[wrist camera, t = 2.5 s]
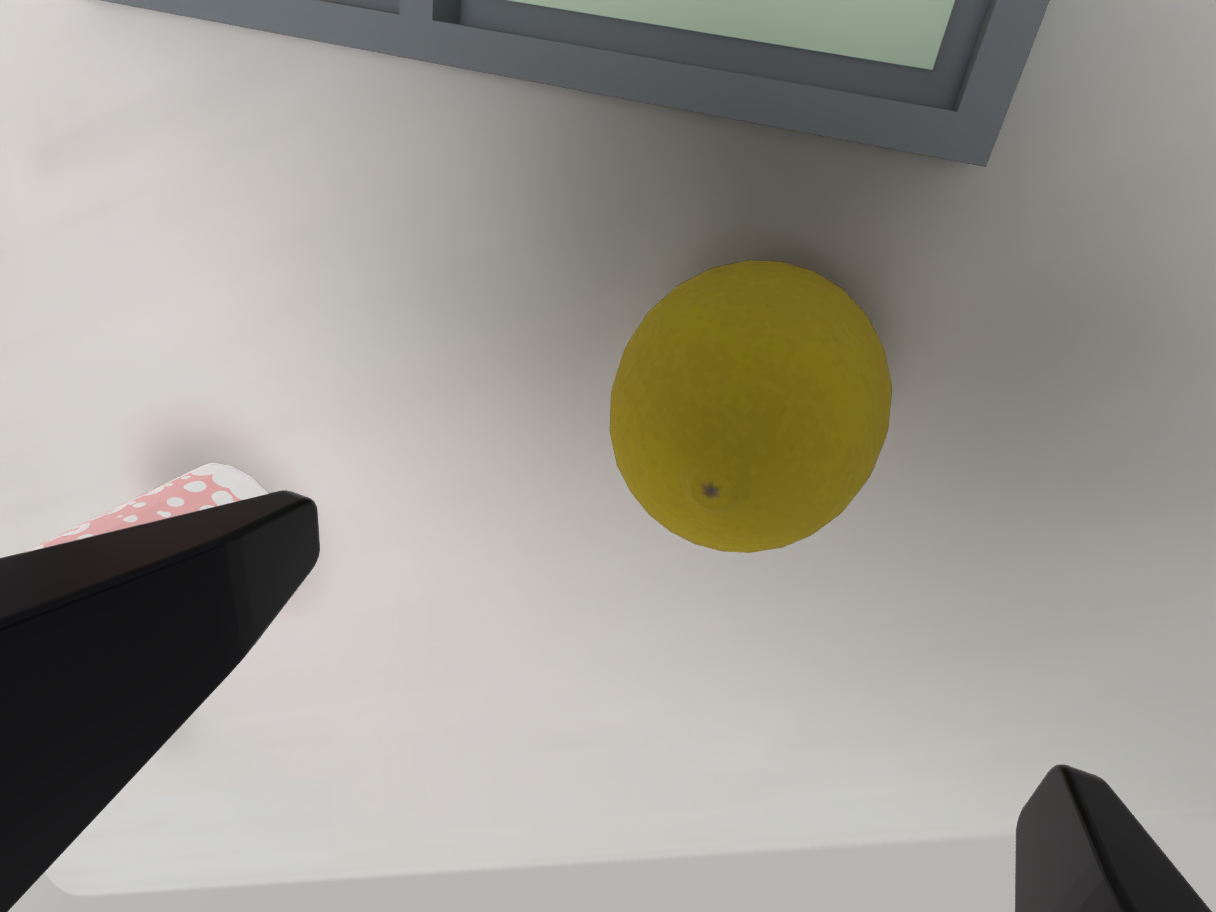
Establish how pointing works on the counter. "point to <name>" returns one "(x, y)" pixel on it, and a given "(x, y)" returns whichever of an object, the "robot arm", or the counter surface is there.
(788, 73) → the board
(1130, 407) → the counter surface
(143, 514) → the beverage cup
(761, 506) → the lemon
